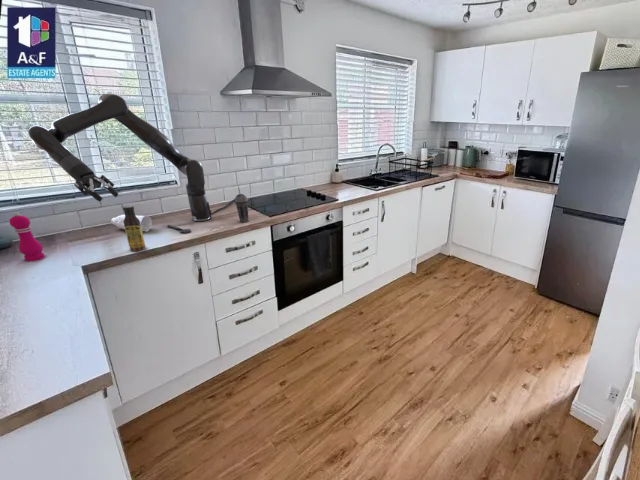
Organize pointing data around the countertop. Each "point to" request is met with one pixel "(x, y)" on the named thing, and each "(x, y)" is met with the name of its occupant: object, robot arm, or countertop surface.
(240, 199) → the beverage cup
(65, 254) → the countertop surface
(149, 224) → the white bottle
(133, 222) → the sauce bottle
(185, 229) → the spoon
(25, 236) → the pepper mill
